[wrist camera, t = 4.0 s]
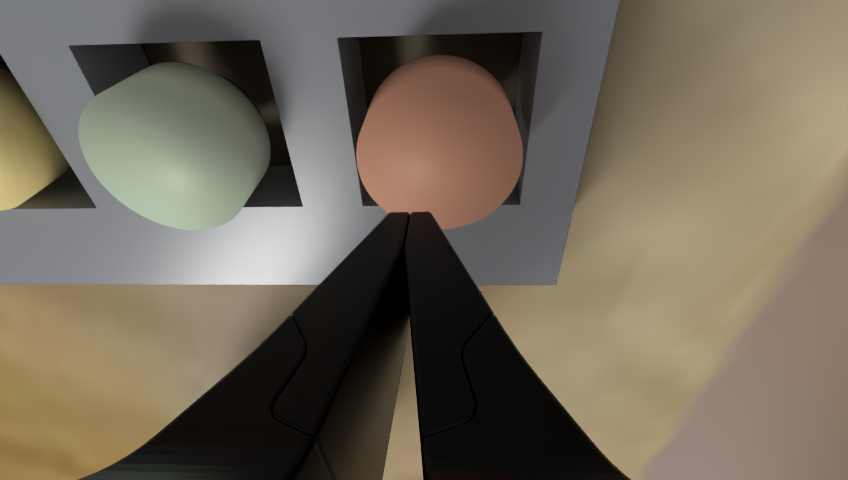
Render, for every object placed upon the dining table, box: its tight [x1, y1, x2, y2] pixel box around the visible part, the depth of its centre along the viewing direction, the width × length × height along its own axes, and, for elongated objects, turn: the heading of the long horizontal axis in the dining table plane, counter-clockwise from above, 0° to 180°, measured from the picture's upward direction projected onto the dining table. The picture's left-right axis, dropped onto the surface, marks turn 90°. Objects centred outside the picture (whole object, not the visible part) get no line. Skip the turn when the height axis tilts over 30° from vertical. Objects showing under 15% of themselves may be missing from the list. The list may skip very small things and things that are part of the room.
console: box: [0, 0, 620, 285], centre depth 14 cm, size 13×24×3 cm, turn 92°
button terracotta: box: [356, 55, 523, 229], centre depth 13 cm, size 4×4×3 cm
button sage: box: [78, 62, 271, 230], centre depth 13 cm, size 4×4×3 cm
